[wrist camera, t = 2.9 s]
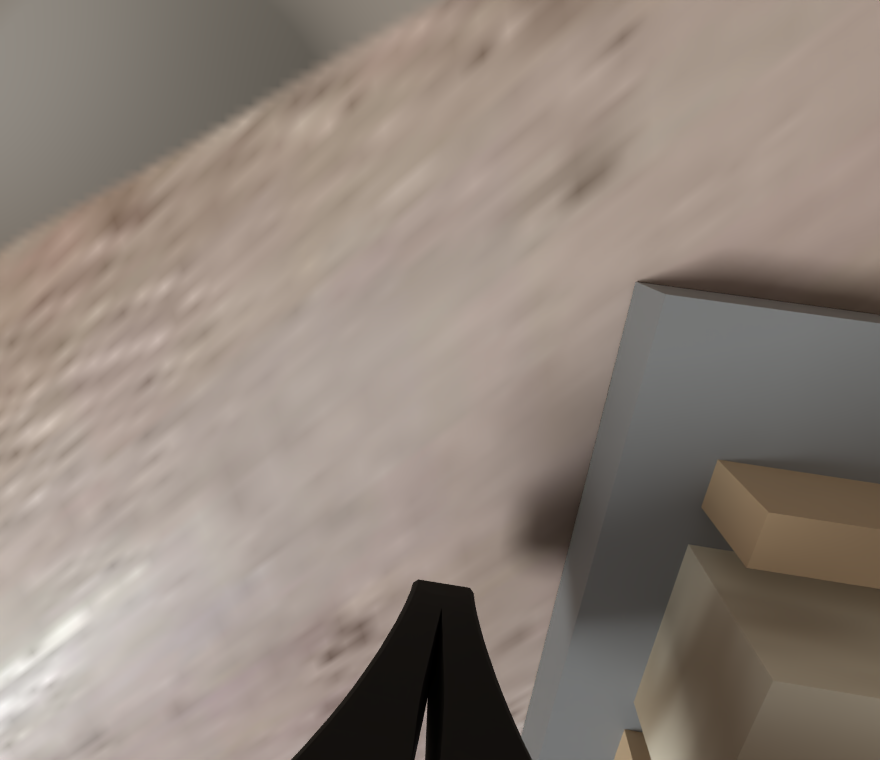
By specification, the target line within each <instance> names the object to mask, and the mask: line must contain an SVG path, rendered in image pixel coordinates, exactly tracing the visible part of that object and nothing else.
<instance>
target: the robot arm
mask: <svg viewBox="0 0 880 760" xmlns="http://www.w3.org/2000/svg"><path fill="white" fill-rule="evenodd" d="M427 698H428V703H427ZM426 703H427V728H426V754H425V760H532V758H531V756H530V754H529V752H528V750H527V748H526V746H525V744H524V742H523V740H522V738H521V736H520V733H519V731H518V729H517V727H516V725H515V722H514V720H513V718H512V715H511V713H510V711H509V708H508V706H507V703H506V701H505V698H504V696H503V693H502V691H501V688H500V686H499V683H498V680H497V678H496V675H495V672H494V669H493V666H492V663H491V660H490V658H489V655H488V652H487V649H486V645H485V642H484V639H483V635H482V632H481V628H480V624H479V620H478V616H477V612H476V607H475V601H474V593H473V592H472V590H471V589H470V588H467V587H461V586H455V585H449V584H443V583H436V582H430V581H424V580H417V581H415V582H414V583H413V585H412V588H411V591H410V594H409V596H408V599H407V601H406V603H405V605H404V607H403V609H402V611H401V613H400V615H399V617H398V619H397V621H396V623H395V624H394V626H393V628H392V629H391V631H390V633H389V634H388V636H387V638H386V639H385V641H384V643H383V644H382V646H381V648H380V649H379V651H378V652H377V654H376V655H375V657H374V658H373V660H372V661H371V663H370V664H369V665H368V667H367V668H366V670H365V671H364V673H363V674H362V676H361V677H360V678H359V680H358V681H357V683H356V684H355V685H354V687H353V688H352V689H351V691H350V692H349V693H348V695H347V696H346V697H345V698H344V700H343V701H342V702H341V703H340V705H339V706H338V707H337V708H336V710H335V711H334V712H333V713H332V715H331V716H330V717H329V718H328V719H327V721H326V722H325V723H324V724H323V725H322V726H321V727H320V729H319V730H318V731H317V732H316V733H315V734H314V735H313V736H312V738H311V739H310V740H309V741H308V742H307V743H306V744H305V745H304V747H303V748H302V749H301V750H300V751H299V752H298V753H297V754H296V755H295V756H294V757H293V758H292V759H291V760H415V755H416V750H417V745H418V741H419V736H420V731H421V726H422V722H423V717H424V712H425V708H426Z"/></svg>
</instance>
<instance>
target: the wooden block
mask: <svg viewBox="0 0 880 760" xmlns="http://www.w3.org/2000/svg"><path fill="white" fill-rule="evenodd" d="M634 705H635V708H636V712H637V715H638V718H639V721H640V725H641V728H642V731H643V734H644V738H645V741H646V744H647V747H648V751H649V754H650V757H651V760H880V589H877V588H870V587H864V586H858V585H852V584H845V583H839V582H833V581H826V580H820V579H814V578H808V577H801V576H795V575H789V574H783V573H776V572H770V571H764V570H757V569H751V568H746V566H745V565H744V564H743V562H742V561H741V560H740V558H739V557H738V556H737V554H736V553H735V552H733V551H727V550H721V549H715V548H708V547H702V546H696V545H689V544H688V547H687V550H686V552H685V555H684V558H683V561H682V564H681V567H680V570H679V573H678V576H677V578H676V581H675V584H674V587H673V590H672V593H671V596H670V599H669V602H668V604H667V607H666V610H665V613H664V616H663V619H662V622H661V625H660V628H659V630H658V633H657V636H656V639H655V642H654V645H653V648H652V651H651V654H650V656H649V659H648V662H647V665H646V668H645V671H644V674H643V677H642V680H641V683H640V685H639V688H638V691H637V694H636V697H635V700H634Z"/></svg>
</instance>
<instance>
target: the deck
mask: <svg viewBox="0 0 880 760" xmlns="http://www.w3.org/2000/svg"><path fill="white" fill-rule="evenodd" d="M688 544H689V545H696V546H702V547H708V548H715V549H721V550H727V551H733V552H735V553H736V554H737V556H738V557H739V558H740V560H741V561H742V562H743V564H744V565H745V566H746V568H751V569H757V570H764V571H770V572H776V573H783V574H789V575H795V576H801V577H808V578H814V579H820V580H826V581H833V582H839V583H845V584H852V585H858V586H864V587H870V588H877V589H880V315H877V314H870V313H863V312H855V311H848V310H841V309H833V308H826V307H818V306H811V305H804V304H796V303H789V302H781V301H774V300H767V299H759V298H752V297H745V296H737V295H730V294H722V293H715V292H708V291H700V290H693V289H685V288H678V287H671V286H663V285H656V284H649V283H641V282H636V283H635V287H634V291H633V295H632V299H631V303H630V307H629V311H628V315H627V319H626V323H625V327H624V331H623V335H622V339H621V343H620V347H619V351H618V355H617V359H616V363H615V366H614V370H613V374H612V378H611V382H610V386H609V390H608V394H607V398H606V402H605V406H604V410H603V414H602V418H601V422H600V426H599V430H598V434H597V438H596V442H595V446H594V450H593V454H592V458H591V462H590V466H589V470H588V474H587V478H586V482H585V486H584V490H583V494H582V498H581V502H580V506H579V509H578V513H577V517H576V521H575V525H574V529H573V533H572V537H571V541H570V545H569V549H568V553H567V557H566V561H565V565H564V569H563V573H562V577H561V581H560V585H559V589H558V593H557V597H556V601H555V605H554V609H553V613H552V617H551V621H550V625H549V629H548V633H547V637H546V641H545V645H544V649H543V652H542V656H541V660H540V664H539V668H538V672H537V676H536V680H535V684H534V688H533V692H532V696H531V700H530V704H529V708H528V712H527V716H526V720H525V724H524V728H523V732H522V736H521V738H522V740H523V742H524V744H525V746H526V748H527V750H528V752H529V754H530V756H531V758H532V760H651V757H650V754H649V751H648V747H647V744H646V741H645V738H644V734H643V731H642V728H641V725H640V721H639V718H638V715H637V712H636V708H635V705H634V700H635V697H636V694H637V691H638V688H639V685H640V683H641V680H642V677H643V674H644V671H645V668H646V665H647V662H648V659H649V656H650V654H651V651H652V648H653V645H654V642H655V639H656V636H657V633H658V630H659V628H660V625H661V622H662V619H663V616H664V613H665V610H666V607H667V604H668V602H669V599H670V596H671V593H672V590H673V587H674V584H675V581H676V578H677V576H678V573H679V570H680V567H681V564H682V561H683V558H684V555H685V552H686V550H687V547H688Z"/></svg>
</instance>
